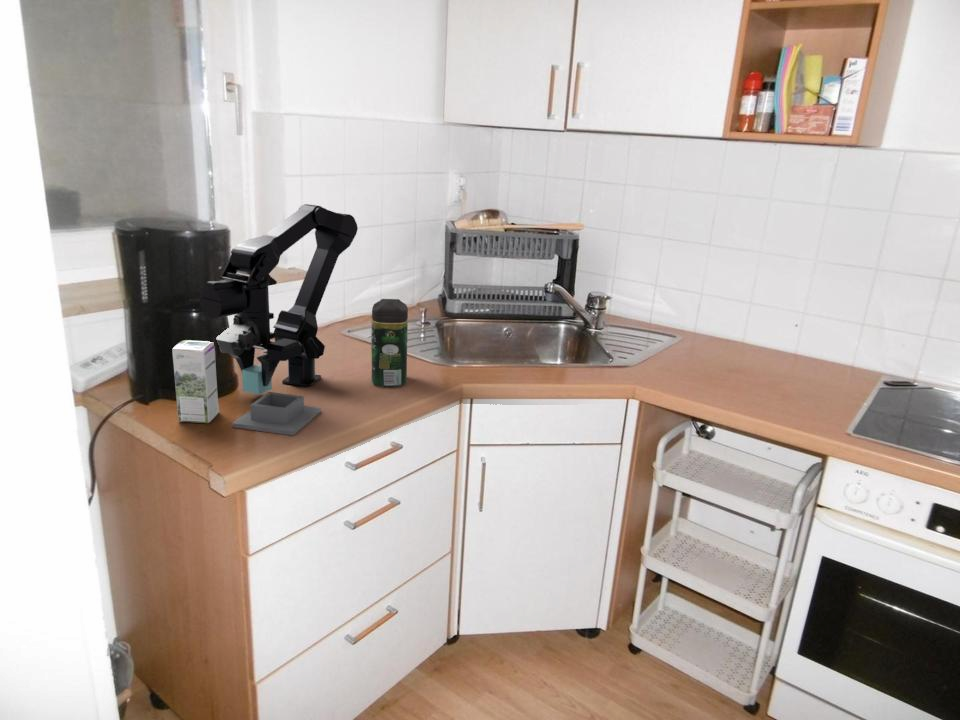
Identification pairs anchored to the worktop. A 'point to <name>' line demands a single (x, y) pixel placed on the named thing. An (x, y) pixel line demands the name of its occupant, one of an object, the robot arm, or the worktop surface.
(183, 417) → the syrup box
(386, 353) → the coffee jar
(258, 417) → the socket
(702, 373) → the worktop surface
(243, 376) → the peg
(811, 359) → the worktop surface
